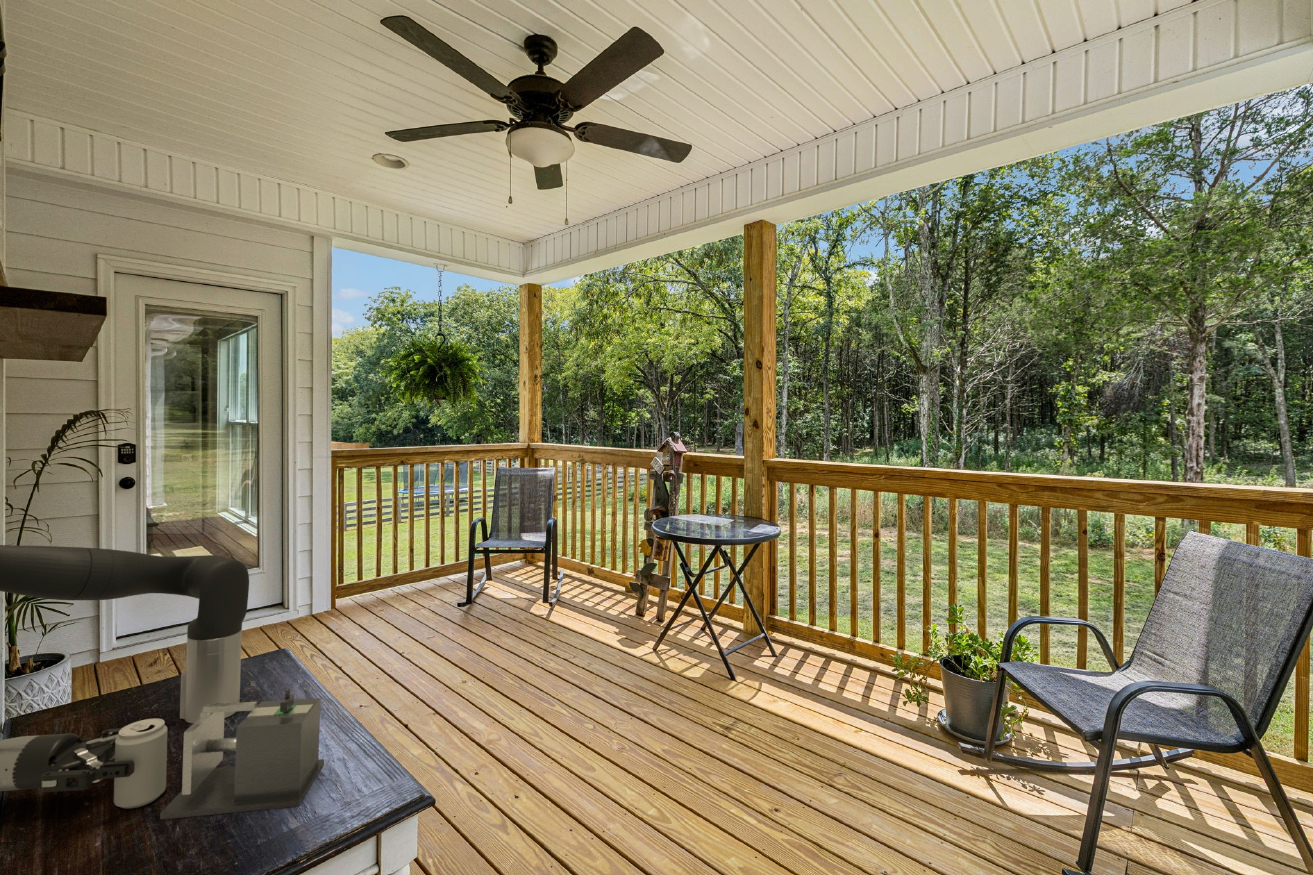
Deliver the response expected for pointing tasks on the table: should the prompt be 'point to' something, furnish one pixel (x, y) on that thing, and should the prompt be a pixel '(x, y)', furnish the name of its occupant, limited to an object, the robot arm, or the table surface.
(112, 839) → the table surface
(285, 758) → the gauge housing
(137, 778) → the beverage can
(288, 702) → the peak needle
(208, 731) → the paddle
